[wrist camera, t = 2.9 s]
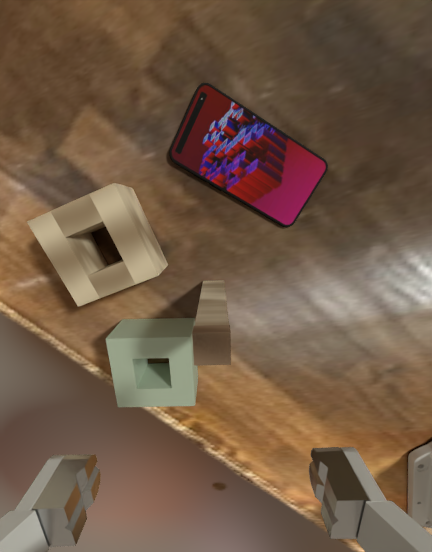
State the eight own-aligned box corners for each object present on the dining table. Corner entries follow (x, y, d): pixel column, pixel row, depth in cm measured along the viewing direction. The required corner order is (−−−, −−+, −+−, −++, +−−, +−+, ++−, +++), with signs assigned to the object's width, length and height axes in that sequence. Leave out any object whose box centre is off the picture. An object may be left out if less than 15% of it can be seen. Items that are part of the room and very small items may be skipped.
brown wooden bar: (224, 300, 28) (230, 364, 16) (203, 301, 28) (194, 365, 16) (224, 280, 27) (230, 332, 15) (202, 280, 27) (192, 332, 15)
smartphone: (289, 230, 25) (165, 158, 23) (287, 230, 26) (167, 159, 24) (332, 163, 23) (201, 76, 21) (328, 164, 24) (202, 82, 22)
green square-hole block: (198, 378, 31) (194, 405, 26) (131, 379, 31) (117, 407, 27) (194, 317, 28) (190, 336, 24) (122, 319, 28) (105, 338, 24)
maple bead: (168, 264, 26) (158, 275, 22) (100, 291, 27) (78, 306, 23) (132, 187, 24) (114, 183, 20) (59, 219, 25) (26, 221, 21)
